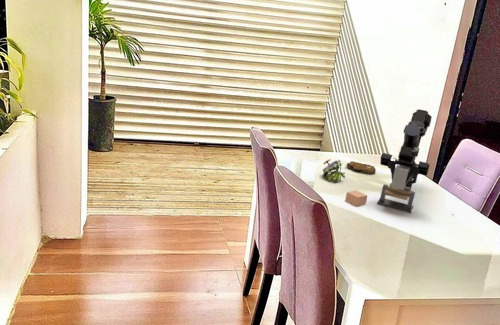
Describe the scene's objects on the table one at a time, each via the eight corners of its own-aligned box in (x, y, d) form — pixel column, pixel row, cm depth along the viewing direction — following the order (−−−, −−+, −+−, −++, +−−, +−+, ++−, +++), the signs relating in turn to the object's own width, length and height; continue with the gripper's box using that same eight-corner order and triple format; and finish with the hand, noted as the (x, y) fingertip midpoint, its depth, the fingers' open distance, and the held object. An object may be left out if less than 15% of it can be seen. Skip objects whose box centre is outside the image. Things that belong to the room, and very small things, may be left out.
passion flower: (322, 187, 225) (323, 163, 229) (345, 187, 222) (346, 164, 226) (320, 180, 215) (321, 155, 219) (344, 180, 212) (345, 155, 216)
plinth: (354, 199, 198) (356, 190, 197) (365, 204, 194) (367, 195, 193) (345, 201, 195) (346, 192, 194) (356, 206, 190) (358, 197, 189)
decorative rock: (345, 172, 237) (375, 178, 236) (347, 164, 235) (377, 170, 234) (345, 164, 248) (373, 170, 246) (346, 157, 246) (375, 163, 245)
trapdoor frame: (379, 199, 202) (383, 182, 200) (413, 208, 197) (417, 190, 195) (376, 204, 196) (380, 186, 194) (411, 213, 191) (415, 195, 189)
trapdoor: (388, 187, 199) (389, 182, 198) (410, 193, 195) (411, 188, 195) (383, 196, 188) (384, 190, 187) (406, 202, 184) (407, 196, 184)
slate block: (392, 183, 190) (397, 165, 188) (405, 186, 188) (409, 168, 186) (390, 186, 186) (395, 167, 183) (403, 190, 184) (408, 171, 181)
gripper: (386, 133, 188) (375, 165, 182) (434, 143, 181) (425, 177, 175) (385, 148, 197) (375, 179, 191) (431, 158, 190) (422, 191, 184)
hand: (398, 181), depth 185 cm, fingers closed on slate block, 5 cm apart
